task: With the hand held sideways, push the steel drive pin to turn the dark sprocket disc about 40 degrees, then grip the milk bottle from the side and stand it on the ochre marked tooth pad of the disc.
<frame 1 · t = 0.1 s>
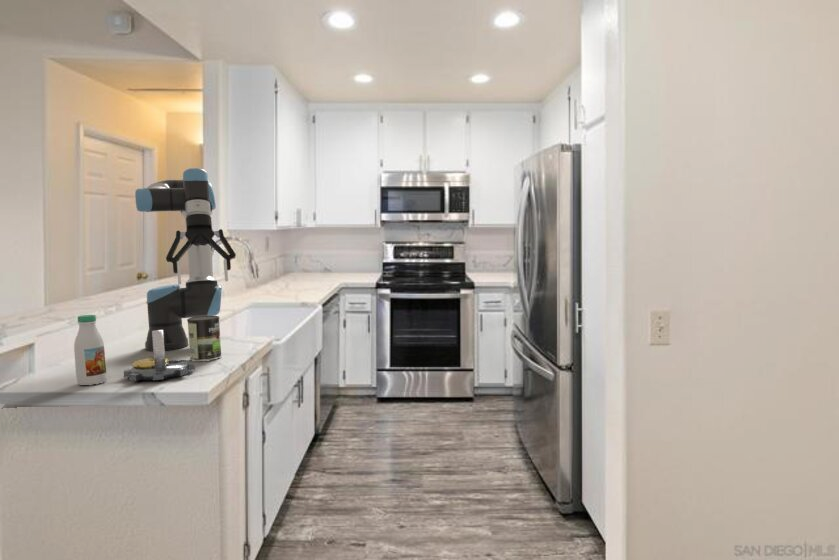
hand: (203, 281, 182), 28 cm above the countertop, tool tilted 20°, fingers open, 13 cm apart
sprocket: (158, 350, 180), point 8 cm above the countertop, hinge at 0.0°
milk bottle: (92, 383, 174), on the countertop
coffee can: (206, 359, 203), on the countertop
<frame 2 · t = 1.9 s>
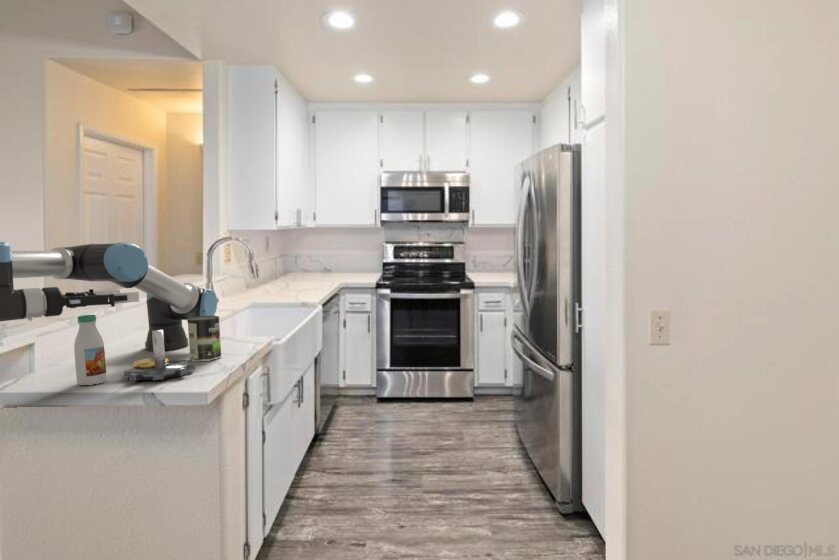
hand: (128, 295, 167), 26 cm above the countertop, tool horizontal, fingers open, 13 cm apart
nothing on the countertop moved.
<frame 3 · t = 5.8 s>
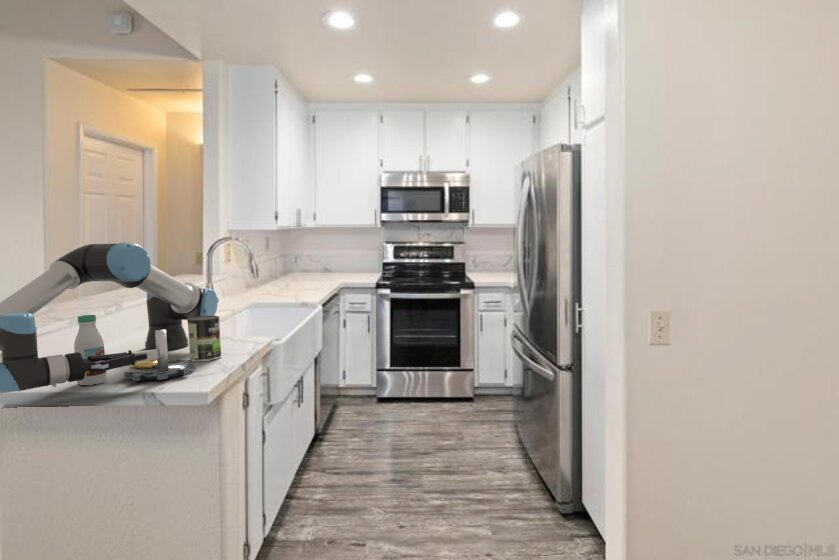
hand: (156, 353, 173), 8 cm above the countertop, tool horizontal, fingers closed
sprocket: (158, 350, 180), point 8 cm above the countertop, hinge at 7.0°, touching gripper
everything else where it was.
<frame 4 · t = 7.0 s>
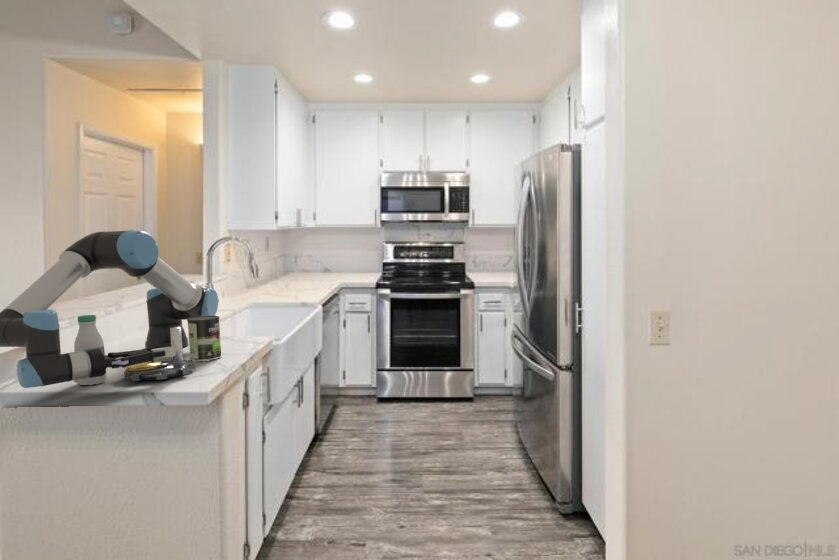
hand: (174, 350, 176), 8 cm above the countertop, tool horizontal, fingers closed
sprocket: (158, 350, 180), point 8 cm above the countertop, hinge at 50.6°, touching gripper
everything else where it was.
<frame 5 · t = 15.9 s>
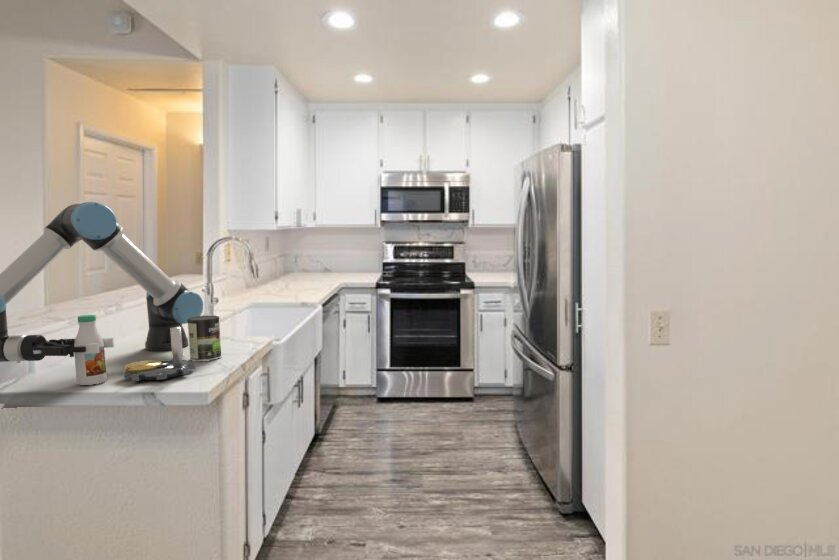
hand: (105, 345, 173), 11 cm above the countertop, tool horizontal, fingers closed on milk bottle, 8 cm apart
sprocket: (158, 350, 180), point 8 cm above the countertop, hinge at 50.6°
milk bottle: (92, 383, 174), on the countertop, touching gripper
everything else where it was.
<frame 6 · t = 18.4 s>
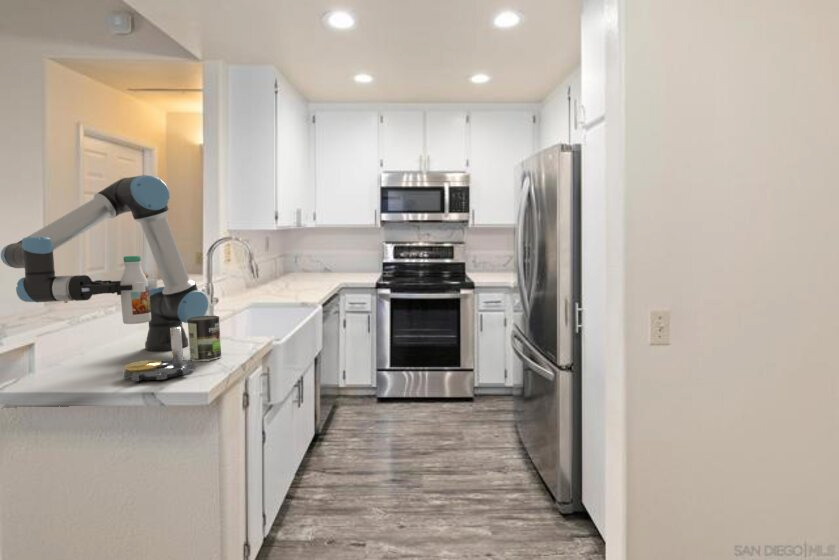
hand: (150, 285, 177), 28 cm above the countertop, tool horizontal, fingers closed on milk bottle, 8 cm apart
milk bottle: (137, 323, 178), point 16 cm above the countertop, touching gripper
everything else where it was.
when the fingers open (16 cm above the countertop, at t = 21.2 s): milk bottle stays where it is, resting on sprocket.
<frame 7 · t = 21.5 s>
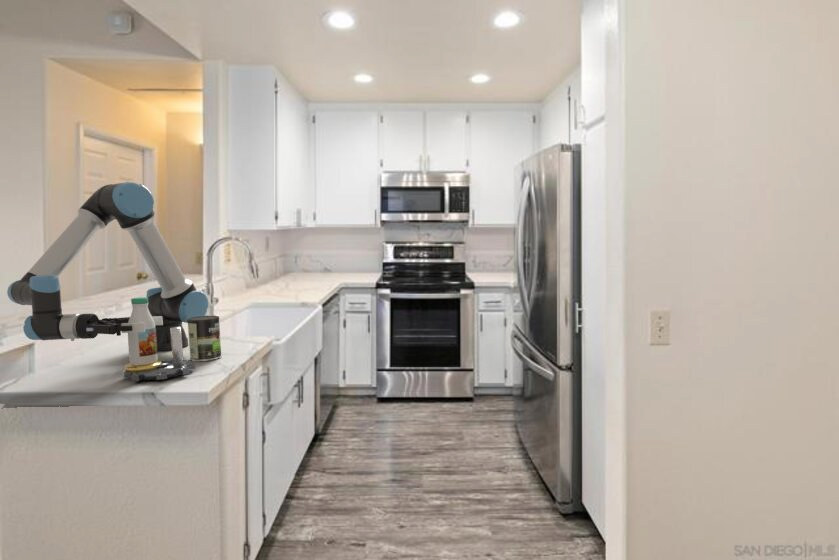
hand: (153, 323, 179), 16 cm above the countertop, tool horizontal, fingers open, 11 cm apart
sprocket: (158, 350, 180), point 8 cm above the countertop, hinge at 50.6°, touching milk bottle
milk bottle: (143, 363, 180), point 4 cm above the countertop, touching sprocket
everything else where it was.
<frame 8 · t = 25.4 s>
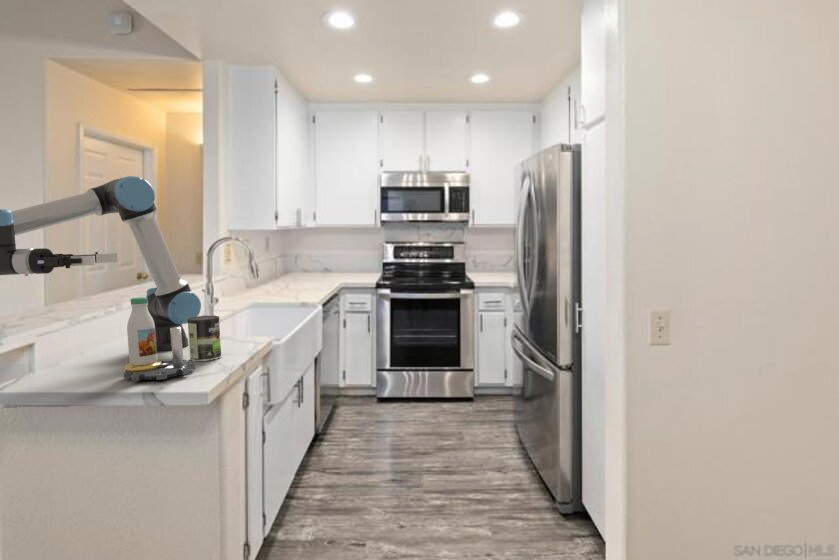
hand: (106, 259, 177), 36 cm above the countertop, tool horizontal, fingers open, 13 cm apart
nothing on the countertop moved.
at the end: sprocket at +51° (first picture: +0°); milk bottle inside the target area (0.0 cm from its centre), point 3.8 cm above the countertop; milk bottle tilted 0° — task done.
